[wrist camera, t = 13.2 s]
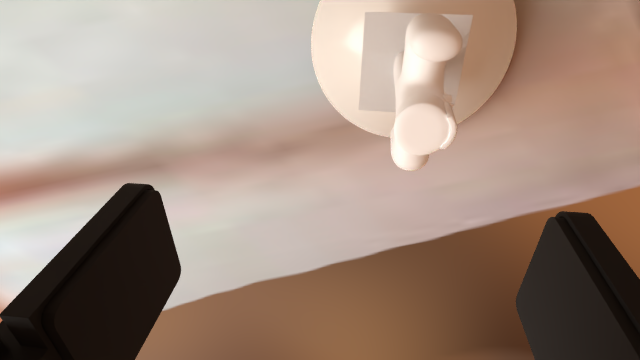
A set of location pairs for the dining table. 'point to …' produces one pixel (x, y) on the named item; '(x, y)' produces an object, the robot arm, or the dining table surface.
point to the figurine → (414, 78)
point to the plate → (351, 4)
